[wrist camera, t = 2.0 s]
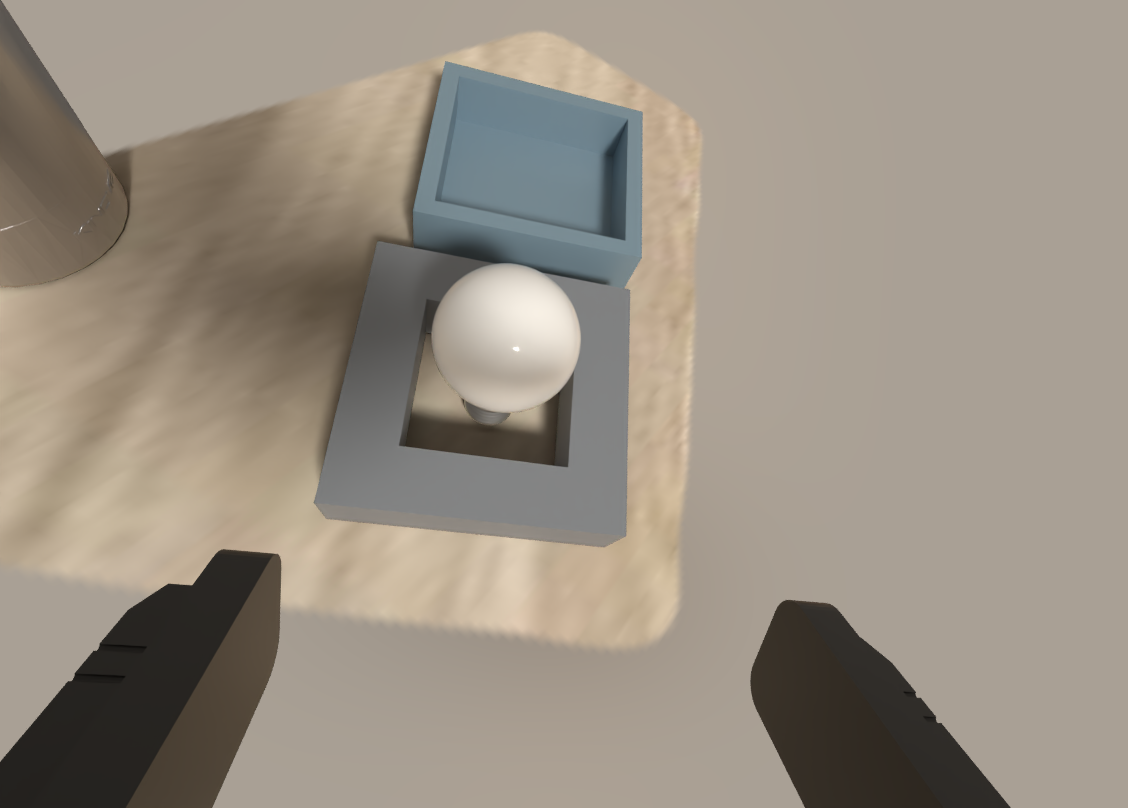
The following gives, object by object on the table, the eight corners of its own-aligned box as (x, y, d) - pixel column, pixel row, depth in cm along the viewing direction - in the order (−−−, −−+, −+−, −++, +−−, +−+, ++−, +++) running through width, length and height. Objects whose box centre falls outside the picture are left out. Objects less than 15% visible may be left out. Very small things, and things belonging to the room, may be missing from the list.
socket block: (326, 518, 27) (314, 502, 24) (381, 279, 33) (377, 240, 30) (604, 547, 30) (626, 536, 27) (611, 321, 35) (629, 289, 32)
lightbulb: (484, 335, 33) (511, 204, 23) (565, 406, 32) (629, 303, 22) (403, 407, 30) (395, 293, 20) (491, 486, 30) (526, 409, 20)
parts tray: (413, 256, 34) (412, 210, 30) (443, 115, 39) (445, 61, 35) (619, 295, 36) (641, 257, 33) (623, 158, 41) (642, 111, 37)
